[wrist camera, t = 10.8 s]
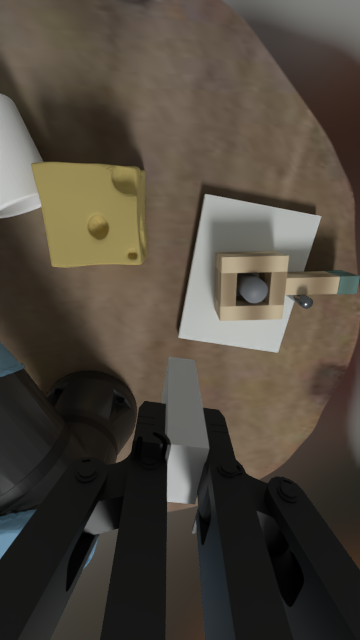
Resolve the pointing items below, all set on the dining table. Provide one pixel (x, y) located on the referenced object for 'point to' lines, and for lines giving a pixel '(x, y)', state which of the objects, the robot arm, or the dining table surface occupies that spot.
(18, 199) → the mug
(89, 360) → the dining table surface
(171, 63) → the dining table surface
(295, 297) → the dowel
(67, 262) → the cheese
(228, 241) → the base
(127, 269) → the dining table surface
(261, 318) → the wooden frame with handle
